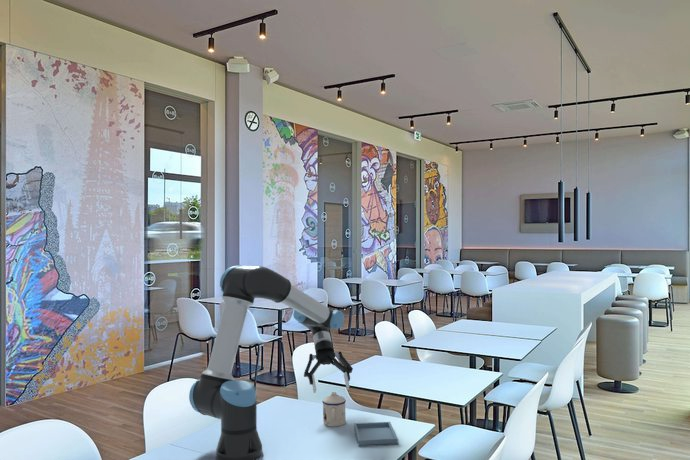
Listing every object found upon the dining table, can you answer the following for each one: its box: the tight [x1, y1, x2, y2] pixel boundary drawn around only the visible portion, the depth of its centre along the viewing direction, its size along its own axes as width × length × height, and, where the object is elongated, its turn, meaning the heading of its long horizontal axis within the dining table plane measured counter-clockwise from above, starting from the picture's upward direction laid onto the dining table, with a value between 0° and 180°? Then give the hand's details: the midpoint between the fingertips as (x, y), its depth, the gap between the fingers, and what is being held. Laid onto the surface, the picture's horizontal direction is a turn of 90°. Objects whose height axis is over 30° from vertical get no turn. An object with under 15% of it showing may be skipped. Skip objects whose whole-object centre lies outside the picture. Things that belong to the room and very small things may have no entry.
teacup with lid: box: [322, 391, 347, 427], centre depth 199 cm, size 12×9×12 cm
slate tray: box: [353, 421, 399, 447], centre depth 186 cm, size 14×17×2 cm
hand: (331, 389), depth 206 cm, fingers open, 13 cm apart
